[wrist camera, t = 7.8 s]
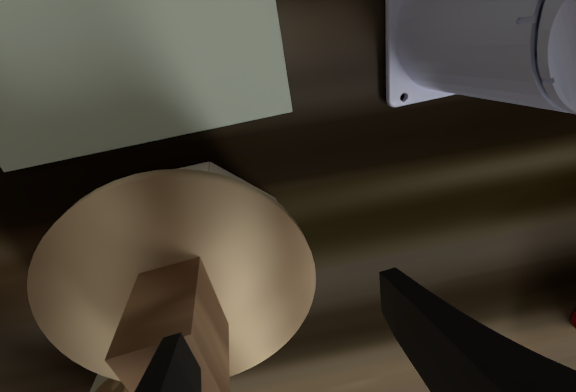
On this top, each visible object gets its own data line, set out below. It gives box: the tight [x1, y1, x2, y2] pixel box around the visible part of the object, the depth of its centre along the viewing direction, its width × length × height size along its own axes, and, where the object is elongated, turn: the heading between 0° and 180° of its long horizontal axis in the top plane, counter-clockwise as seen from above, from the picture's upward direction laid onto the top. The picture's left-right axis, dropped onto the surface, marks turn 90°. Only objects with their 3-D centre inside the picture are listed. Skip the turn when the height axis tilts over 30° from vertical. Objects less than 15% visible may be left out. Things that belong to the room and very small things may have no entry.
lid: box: [27, 169, 316, 392], centre depth 14 cm, size 14×14×6 cm
